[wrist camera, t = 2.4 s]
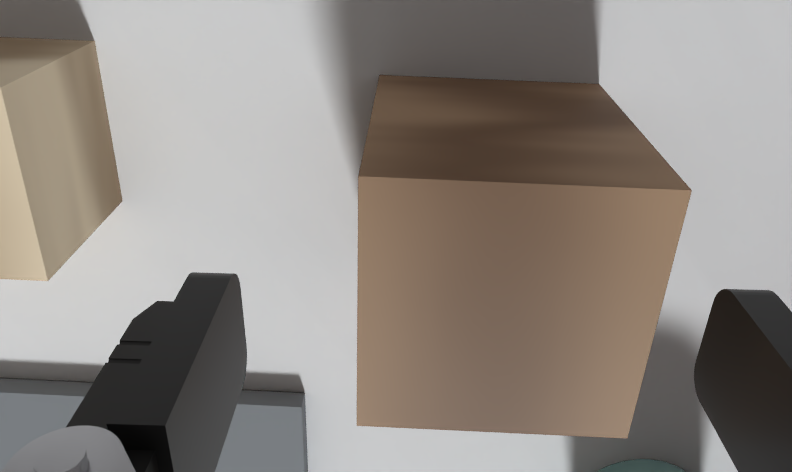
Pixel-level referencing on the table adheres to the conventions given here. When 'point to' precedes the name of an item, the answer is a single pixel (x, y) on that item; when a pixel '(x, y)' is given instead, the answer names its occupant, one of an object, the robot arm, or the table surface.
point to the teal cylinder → (642, 466)
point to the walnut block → (509, 257)
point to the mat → (243, 448)
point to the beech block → (51, 154)
